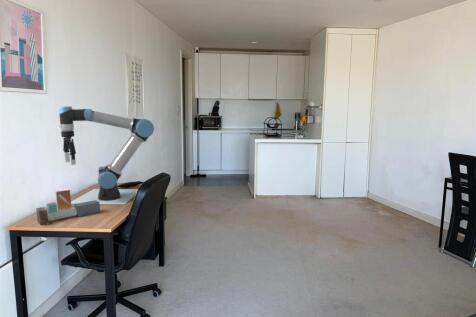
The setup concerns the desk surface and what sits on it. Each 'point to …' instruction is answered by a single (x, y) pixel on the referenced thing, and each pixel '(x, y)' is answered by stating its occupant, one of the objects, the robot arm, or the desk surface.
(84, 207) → the grey rectangular block
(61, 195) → the small box
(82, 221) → the desk surface
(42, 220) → the socket
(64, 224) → the desk surface
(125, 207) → the desk surface
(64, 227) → the desk surface
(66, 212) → the teal-ended white column
